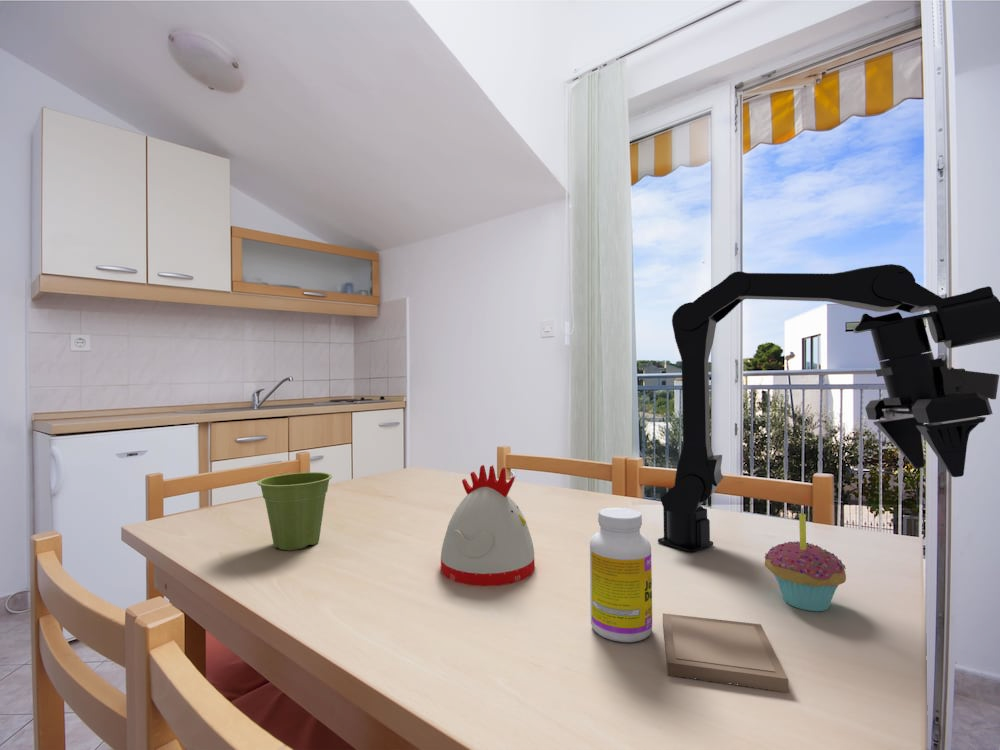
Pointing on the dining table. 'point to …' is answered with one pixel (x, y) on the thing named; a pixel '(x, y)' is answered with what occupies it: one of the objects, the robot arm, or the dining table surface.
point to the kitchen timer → (487, 535)
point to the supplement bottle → (620, 577)
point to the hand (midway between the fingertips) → (937, 471)
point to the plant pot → (295, 507)
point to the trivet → (721, 652)
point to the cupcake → (805, 572)
